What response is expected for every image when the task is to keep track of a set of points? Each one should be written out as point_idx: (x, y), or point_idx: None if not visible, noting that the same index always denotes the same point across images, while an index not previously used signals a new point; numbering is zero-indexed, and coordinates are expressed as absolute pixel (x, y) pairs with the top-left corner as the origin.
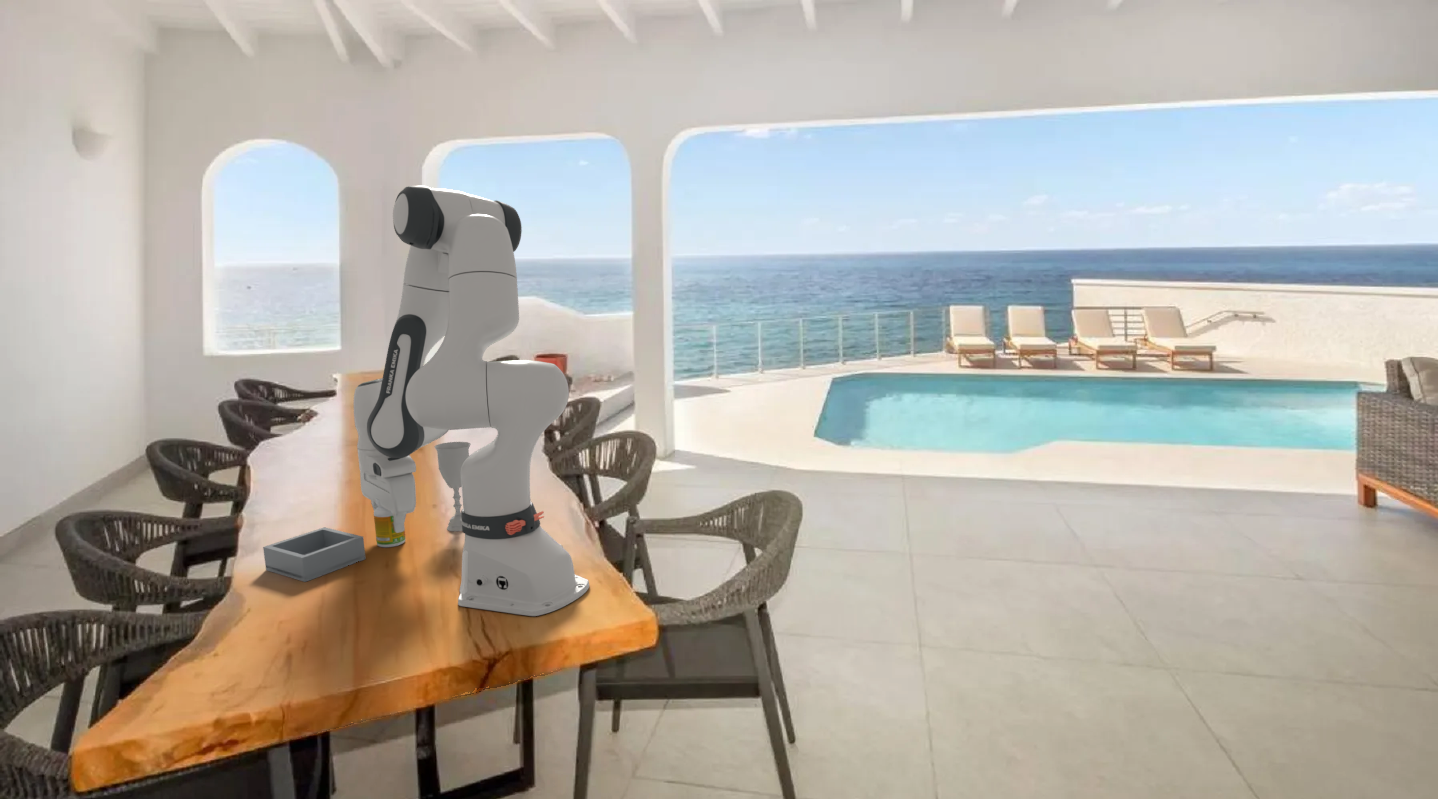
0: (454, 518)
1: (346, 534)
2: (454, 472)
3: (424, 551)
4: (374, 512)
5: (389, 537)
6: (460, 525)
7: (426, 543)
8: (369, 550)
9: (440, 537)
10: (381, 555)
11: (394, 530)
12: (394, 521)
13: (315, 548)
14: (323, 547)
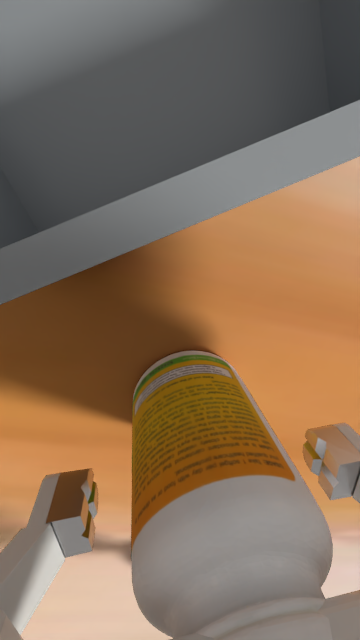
0: None
1: (128, 211)
2: None
3: (3, 468)
4: (245, 509)
5: (134, 416)
6: None
7: (95, 480)
8: (161, 311)
9: (128, 514)
10: (54, 339)
11: (59, 479)
12: (3, 560)
13: (328, 36)
14: (319, 103)
